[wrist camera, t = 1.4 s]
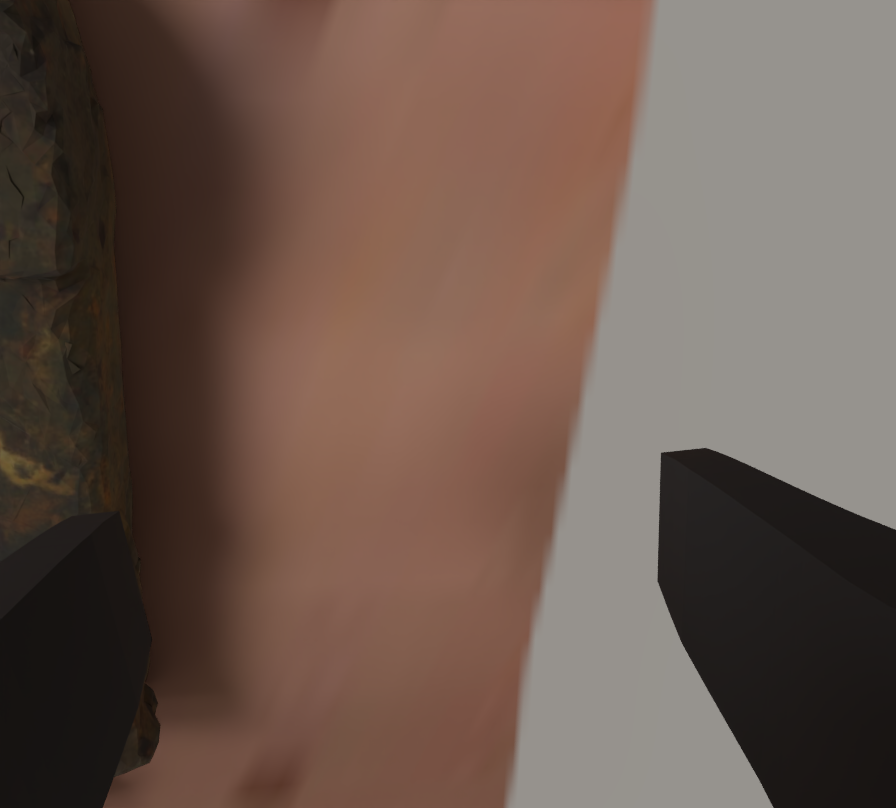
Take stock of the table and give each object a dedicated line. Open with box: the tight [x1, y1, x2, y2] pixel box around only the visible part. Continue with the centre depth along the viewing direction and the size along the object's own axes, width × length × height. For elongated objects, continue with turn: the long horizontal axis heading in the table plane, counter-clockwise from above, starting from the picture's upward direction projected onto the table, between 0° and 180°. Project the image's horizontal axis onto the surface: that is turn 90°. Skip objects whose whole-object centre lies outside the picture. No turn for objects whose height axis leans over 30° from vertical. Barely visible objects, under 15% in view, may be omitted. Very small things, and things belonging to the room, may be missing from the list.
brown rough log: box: [0, 0, 160, 777], centre depth 19 cm, size 19×4×5 cm, turn 172°
